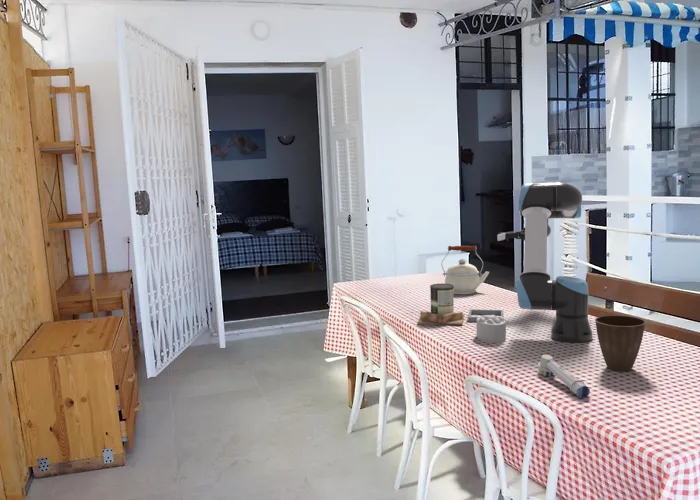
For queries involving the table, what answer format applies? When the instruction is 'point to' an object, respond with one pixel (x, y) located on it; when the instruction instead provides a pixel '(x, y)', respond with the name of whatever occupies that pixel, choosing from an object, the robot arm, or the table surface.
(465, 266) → the kettle
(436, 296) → the coffee can
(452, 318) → the brown flat cloth piece
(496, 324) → the lumpy-topped squat cylinder
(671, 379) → the table surface
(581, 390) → the toothbrush head
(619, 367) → the plant pot
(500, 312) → the gray square tray
